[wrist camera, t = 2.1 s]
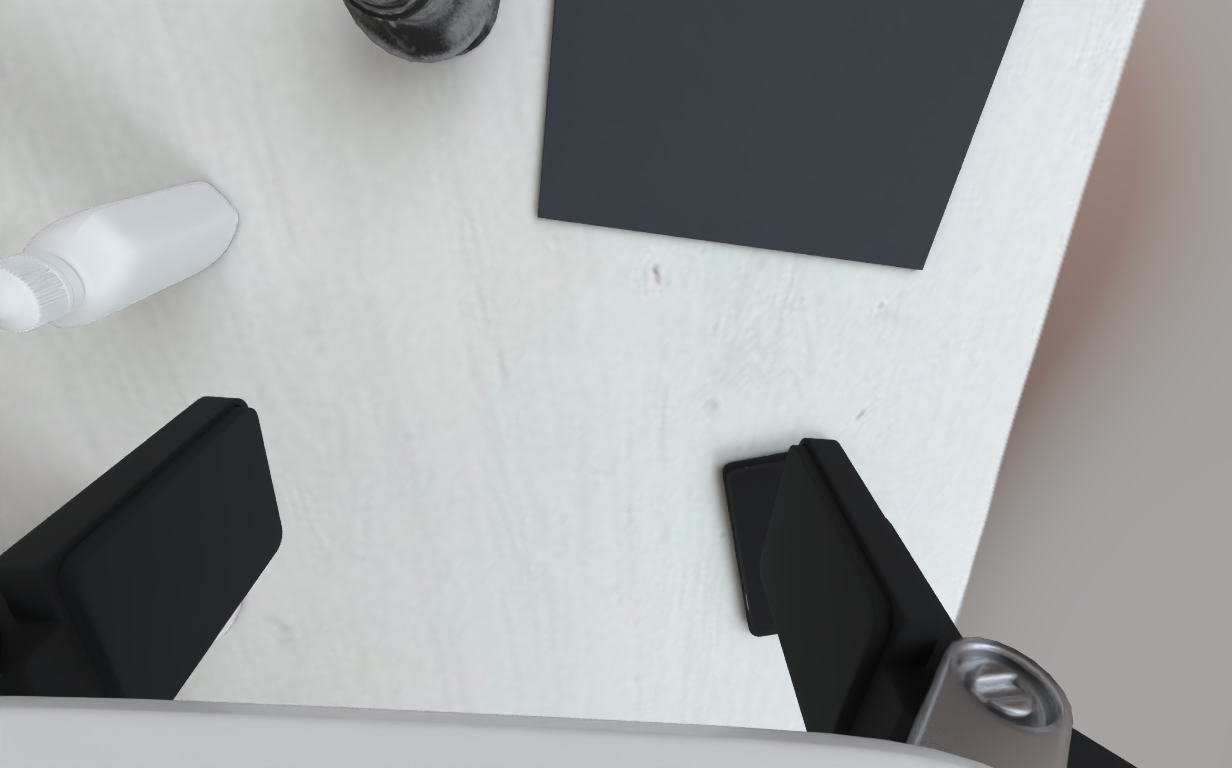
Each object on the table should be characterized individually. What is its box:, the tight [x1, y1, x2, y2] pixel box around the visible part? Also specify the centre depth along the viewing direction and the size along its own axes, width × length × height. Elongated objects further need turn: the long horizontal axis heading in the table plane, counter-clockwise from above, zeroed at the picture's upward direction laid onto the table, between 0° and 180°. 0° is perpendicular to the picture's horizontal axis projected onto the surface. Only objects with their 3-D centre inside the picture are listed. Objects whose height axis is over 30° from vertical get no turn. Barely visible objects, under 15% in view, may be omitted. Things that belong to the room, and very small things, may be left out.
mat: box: [538, 0, 1024, 270], centre depth 27 cm, size 20×18×1 cm
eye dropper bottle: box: [0, 181, 239, 332], centre depth 25 cm, size 4×6×12 cm
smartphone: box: [723, 452, 788, 637], centre depth 39 cm, size 7×1×15 cm
